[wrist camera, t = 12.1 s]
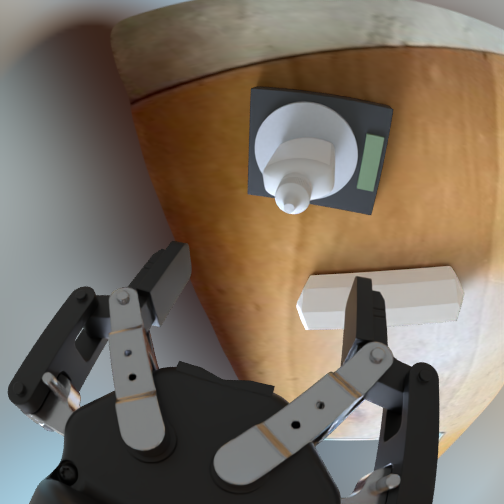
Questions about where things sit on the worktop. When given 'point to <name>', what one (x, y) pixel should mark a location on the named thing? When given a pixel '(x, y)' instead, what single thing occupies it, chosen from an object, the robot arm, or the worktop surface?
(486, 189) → the worktop surface
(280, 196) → the eye dropper bottle
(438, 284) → the chamfered white bar
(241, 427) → the robot arm
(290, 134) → the kitchen scale
